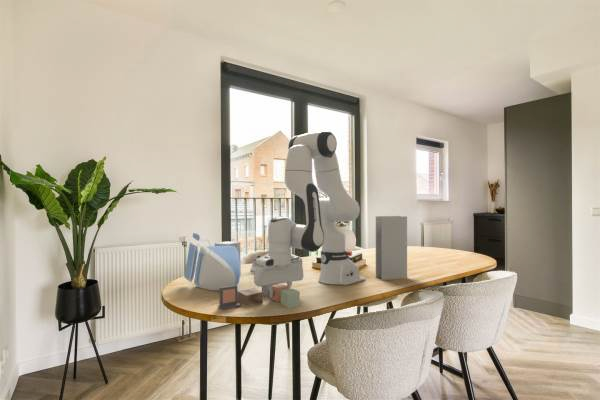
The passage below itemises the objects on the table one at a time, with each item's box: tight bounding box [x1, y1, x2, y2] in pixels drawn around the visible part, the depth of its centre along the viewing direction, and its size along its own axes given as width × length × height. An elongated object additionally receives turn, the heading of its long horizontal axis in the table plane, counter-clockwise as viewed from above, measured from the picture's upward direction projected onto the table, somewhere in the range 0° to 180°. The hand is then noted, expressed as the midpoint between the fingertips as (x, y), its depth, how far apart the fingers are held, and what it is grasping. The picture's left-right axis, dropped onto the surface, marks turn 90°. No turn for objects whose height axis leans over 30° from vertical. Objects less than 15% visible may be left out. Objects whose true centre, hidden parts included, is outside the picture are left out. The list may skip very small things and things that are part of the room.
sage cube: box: [280, 288, 301, 308], centre depth 123 cm, size 5×5×5 cm
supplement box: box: [214, 240, 242, 276], centre depth 169 cm, size 10×9×17 cm
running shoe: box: [250, 252, 268, 273], centre depth 178 cm, size 9×22×10 cm, turn 67°
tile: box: [217, 285, 241, 311], centre depth 120 cm, size 7×3×7 cm, turn 123°
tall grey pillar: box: [375, 215, 408, 281], centre depth 165 cm, size 14×6×30 cm, turn 108°
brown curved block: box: [237, 288, 264, 307], centre depth 127 cm, size 7×7×4 cm
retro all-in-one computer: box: [183, 232, 242, 291], centre depth 147 cm, size 25×23×17 cm
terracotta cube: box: [270, 283, 288, 302], centre depth 130 cm, size 5×5×5 cm
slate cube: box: [261, 284, 278, 297], centre depth 137 cm, size 5×5×5 cm
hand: (279, 294), depth 130 cm, fingers closed on terracotta cube, 5 cm apart
